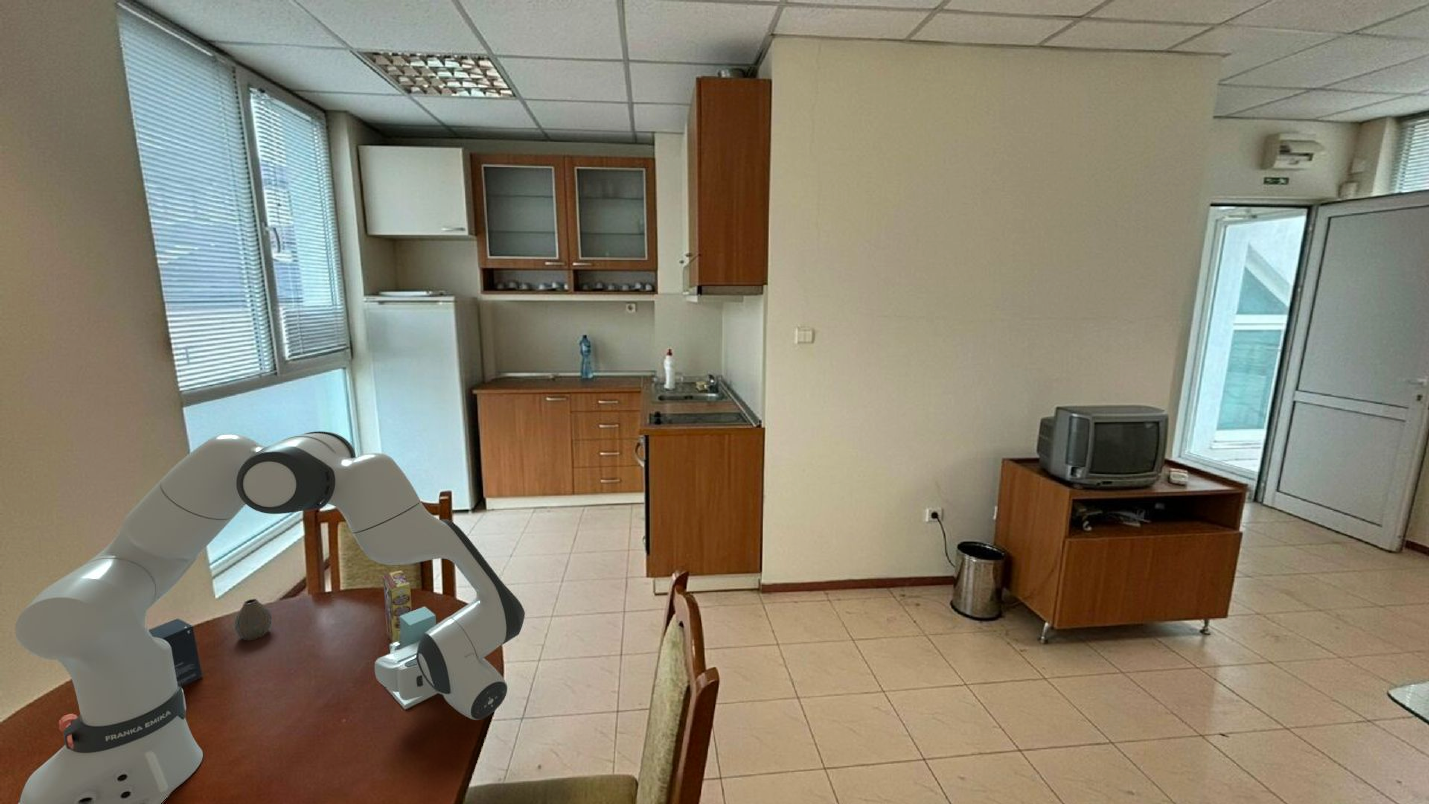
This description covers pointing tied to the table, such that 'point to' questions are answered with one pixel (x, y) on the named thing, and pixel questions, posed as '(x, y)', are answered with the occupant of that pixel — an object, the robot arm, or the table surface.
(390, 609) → the candy box
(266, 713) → the table surface
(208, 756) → the table surface
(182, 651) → the small box
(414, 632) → the teal block
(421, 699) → the pad
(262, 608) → the vase
